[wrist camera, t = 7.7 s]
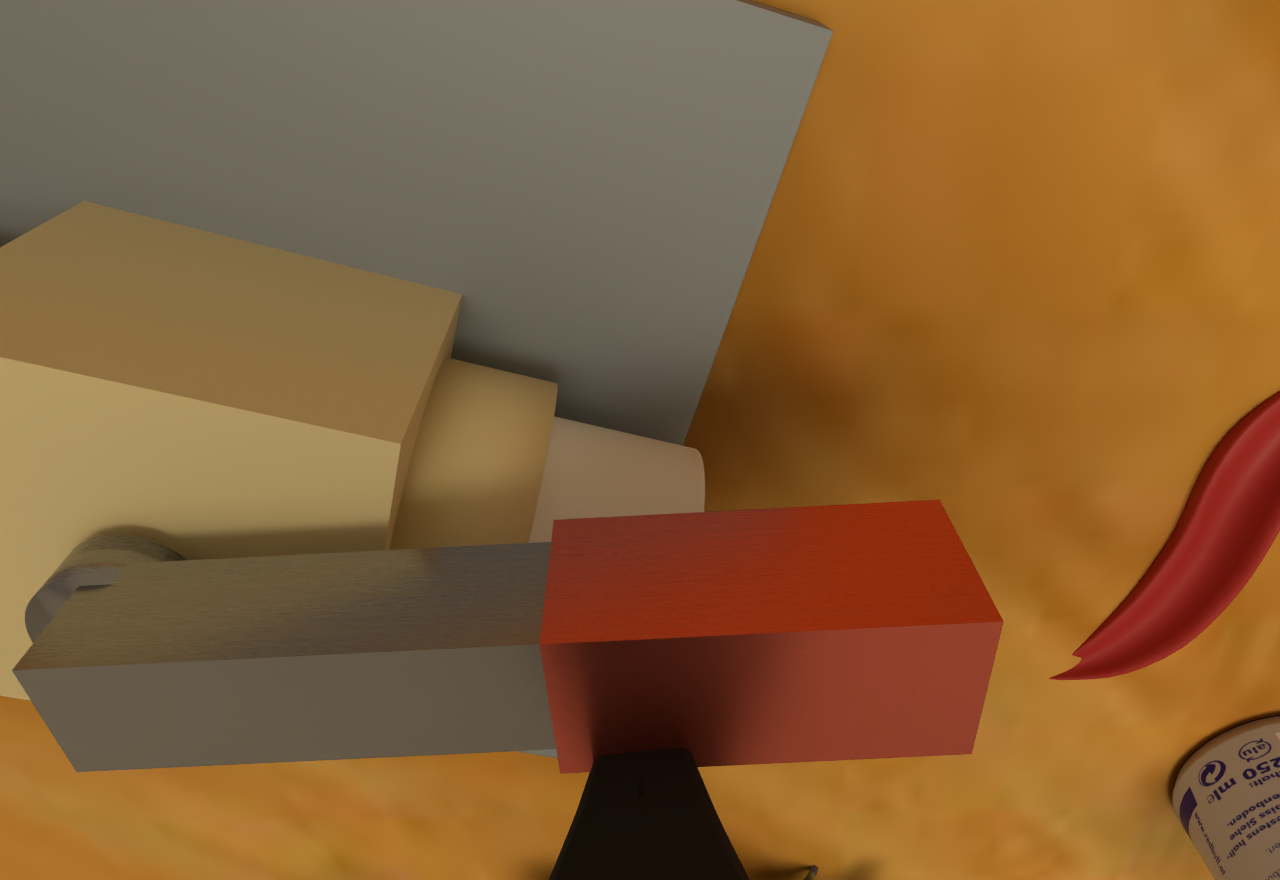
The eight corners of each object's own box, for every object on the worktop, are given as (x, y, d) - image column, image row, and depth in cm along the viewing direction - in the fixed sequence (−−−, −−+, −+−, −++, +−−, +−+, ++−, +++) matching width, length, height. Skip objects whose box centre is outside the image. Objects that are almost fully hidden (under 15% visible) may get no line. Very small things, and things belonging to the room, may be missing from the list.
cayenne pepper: (1401, 270, 17) (1482, 308, 16) (1506, 391, 19) (1590, 438, 17) (949, 619, 22) (974, 676, 21) (1060, 692, 24) (1092, 750, 22)
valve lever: (99, 649, 13) (-6, 800, 11) (35, 533, 11) (-98, 675, 9) (912, 609, 12) (971, 754, 10) (932, 486, 11) (1002, 621, 9)
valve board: (-67, 613, 21) (-298, 851, 16) (-272, -325, 12) (-1002, -508, 6) (571, 722, 23) (556, 959, 18) (818, 21, 14) (932, 93, 9)
